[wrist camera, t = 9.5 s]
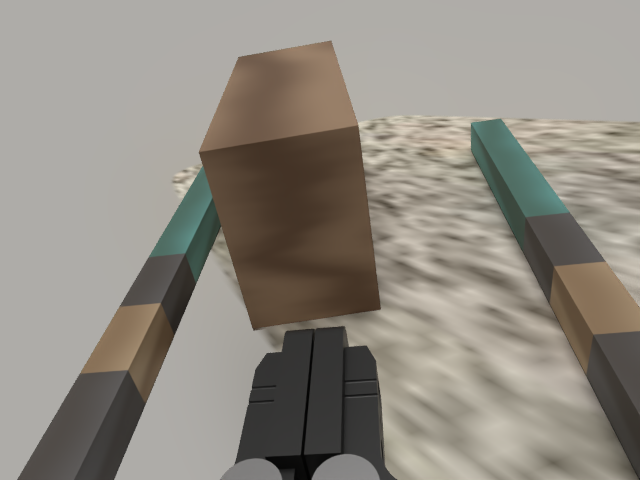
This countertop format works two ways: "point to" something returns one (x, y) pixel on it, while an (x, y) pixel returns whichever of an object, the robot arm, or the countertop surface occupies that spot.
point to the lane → (193, 249)
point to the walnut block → (292, 187)
